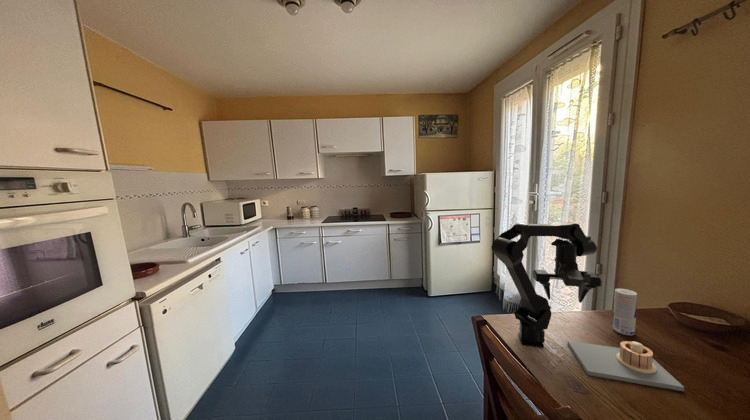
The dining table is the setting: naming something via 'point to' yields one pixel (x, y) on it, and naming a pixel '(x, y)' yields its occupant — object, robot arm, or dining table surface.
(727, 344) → the dining table surface
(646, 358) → the wooden slatted ring
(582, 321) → the dining table surface
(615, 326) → the beverage can
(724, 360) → the dining table surface
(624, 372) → the bobbin board
